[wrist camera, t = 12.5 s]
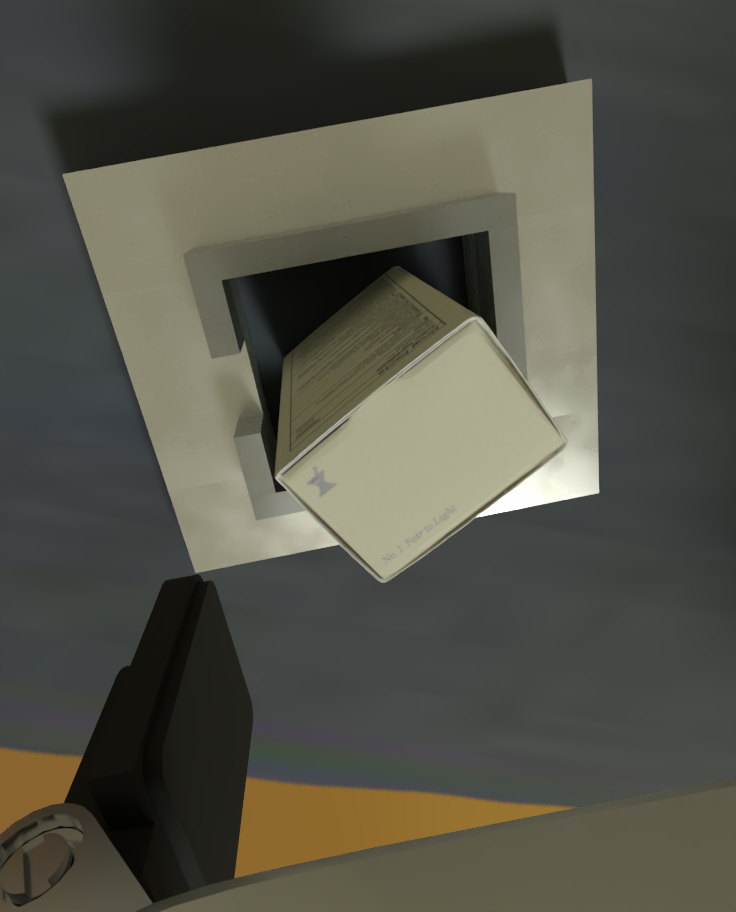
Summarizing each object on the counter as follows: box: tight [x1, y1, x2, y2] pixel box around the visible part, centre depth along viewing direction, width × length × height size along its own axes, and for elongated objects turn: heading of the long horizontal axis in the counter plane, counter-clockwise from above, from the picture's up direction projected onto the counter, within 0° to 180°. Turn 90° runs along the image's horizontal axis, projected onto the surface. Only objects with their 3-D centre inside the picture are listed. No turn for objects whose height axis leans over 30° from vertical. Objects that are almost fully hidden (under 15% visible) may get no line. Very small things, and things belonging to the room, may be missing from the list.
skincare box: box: [275, 266, 568, 583], centre depth 21 cm, size 6×4×12 cm
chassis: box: [62, 79, 599, 573], centre depth 24 cm, size 16×18×4 cm
